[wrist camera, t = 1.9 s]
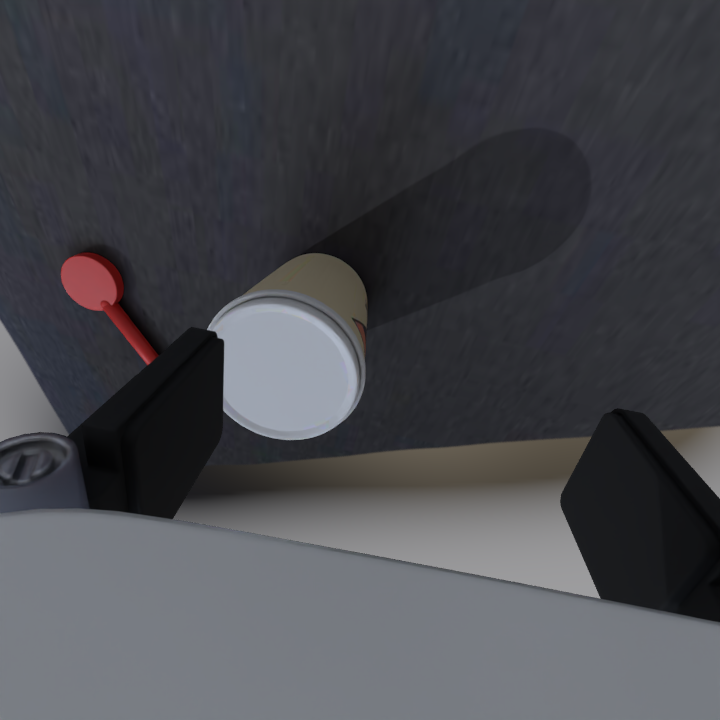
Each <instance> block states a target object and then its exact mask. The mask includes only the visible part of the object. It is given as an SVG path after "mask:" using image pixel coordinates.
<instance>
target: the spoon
mask: <svg viewBox="0 0 720 720" xmlns="http://www.w3.org/2000/svg"><path fill="white" fill-rule="evenodd" d="M61 279H62V283H63V286H64V288H65V290H66V291H67V293H68V294H69V295H70V296H71V298H72V299H73V300H75V301H76V302H77V303H78V304H80V305H81V306H83V307H85V308H88V309H91V310H99V311H100V310H104V311H105V312H106V313H107V315H108V316H109V317H110V318H111V320H112V321H113V322H114V324H115V325H116V326H117V327H118V329H119V330H120V331H121V332H122V334H123V335H124V336H125V337H126V339H127V340H128V341H129V342H130V344H131V345H132V346H133V347H134V349H135V350H136V351H137V352H138V354H139V355H140V356H141V357H142V359H143V360H144V361H145V362H146V364H147V365H149V364H150V363H151V362H152V361H153V360H154V359H155V358H157V357H158V356H159V355H158V354H157V353H156V351H155V350H154V349H153V348H152V346H151V345H150V344H149V342H148V341H147V340H146V339H145V337H144V336H143V335H142V333H141V332H140V331H139V330H138V328H137V327H136V326H135V324H134V323H133V322H132V321H131V319H130V318H129V317H128V315H127V314H126V313H125V311H124V310H123V309H122V308H121V306H120V305H119V304H118V302H119V301H120V299H121V298H122V296H123V292H124V285H123V280H122V277H121V275H120V273H119V272H118V270H117V269H116V267H115V266H114V265H113V264H112V263H111V262H110V261H108V260H107V259H106V258H104V257H102V256H100V255H98V254H94V253H88V252H85V253H80V254H77V255H75V256H72V257H70V258H68V259H67V260H66V261H65V262H64V264H63V266H62V269H61Z"/></svg>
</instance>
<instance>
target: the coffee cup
mask: <svg viewBox="0 0 720 720" xmlns="http://www.w3.org/2000/svg"><path fill="white" fill-rule="evenodd" d="M207 330H210V331H215V332H216V333H217V336H218V338H220V339H223V340H224V386H223V410H224V411H225V412H226V413H227V415H228V416H230V417H231V418H232V419H233V420H235V421H236V422H238V423H239V424H240V425H242V426H244V427H246V428H247V429H249V430H251V431H253V432H255V433H258V434H261V435H264V436H267V437H271V438H277V439H284V440H301V439H307V438H312V437H315V436H318V435H321V434H323V433H325V432H327V431H329V430H331V429H332V428H334V427H336V426H337V425H338V424H340V423H341V422H342V421H343V420H345V419H346V418H347V417H348V416H349V415H350V414H351V412H352V411H353V410H354V408H355V407H356V405H357V403H358V402H359V400H360V397H361V395H362V392H363V389H364V385H365V348H366V331H367V295H366V291H365V287H364V285H363V283H362V281H361V279H360V277H359V276H358V274H357V273H356V272H355V271H354V270H353V269H352V268H351V267H350V266H349V265H348V264H346V263H345V262H343V261H342V260H340V259H338V258H336V257H333V256H330V255H326V254H321V253H310V254H304V255H301V256H298V257H296V258H294V259H292V260H290V261H288V262H287V263H285V264H284V265H282V266H281V267H280V268H278V269H277V270H276V271H274V272H273V273H272V274H270V275H269V276H268V277H266V278H265V279H263V280H262V281H261V282H259V283H258V284H257V285H255V286H254V287H253V288H251V289H250V290H249V291H248V292H246V293H245V294H244V295H243V296H241V297H239V298H237V299H235V300H233V301H232V302H230V303H229V304H228V305H226V306H225V307H224V308H223V309H222V310H220V311H219V313H218V314H217V315H216V316H215V317H214V319H213V320H212V322H211V323H210V325H209V327H208V329H207Z"/></svg>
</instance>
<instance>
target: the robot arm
mask: <svg viewBox="0 0 720 720" xmlns="http://www.w3.org/2000/svg"><path fill="white" fill-rule="evenodd" d="M223 386H224V340H223V339H220V338H218V336H217V333H216V332H215V331H210V330H204V329H199V328H194V327H191V328H189V329H188V330H187V331H186V332H185V333H183V334H182V335H181V336H180V337H179V338H178V339H177V340H176V341H174V342H173V343H172V344H171V345H170V346H169V347H168V348H167V349H166V350H164V351H163V352H162V353H161V354H160V355H159V356H158V357H157V358H155V359H154V360H153V361H152V362H151V363H150V364H149V365H148V366H146V367H145V368H144V369H143V370H142V371H141V372H140V373H139V374H138V375H136V376H135V377H134V378H133V379H131V380H130V381H129V382H128V383H127V384H126V385H125V386H124V387H122V388H121V389H120V390H119V391H118V392H117V393H116V394H115V395H113V396H112V397H111V398H110V399H109V400H108V401H107V402H106V403H104V404H103V405H102V406H101V407H100V408H99V409H98V410H97V411H96V412H94V413H93V414H92V415H91V416H90V417H89V418H88V419H87V420H85V421H84V422H83V423H82V424H81V425H80V426H79V427H78V428H76V429H75V430H74V431H73V432H72V433H71V434H70V435H69V436H67V437H66V436H64V435H60V434H56V433H42V432H39V433H31V434H23V435H20V436H16V437H13V438H9V439H6V440H4V441H2V442H0V720H720V499H719V497H717V495H716V494H715V493H714V492H713V491H712V490H711V488H710V487H709V486H708V485H707V484H706V483H705V482H704V481H703V480H702V478H701V477H700V476H699V475H698V474H697V473H696V471H695V470H694V469H693V468H692V467H691V466H690V465H689V464H688V462H687V461H686V460H685V459H684V458H683V457H682V456H681V455H680V453H679V452H678V451H677V450H676V449H675V448H674V447H673V445H672V444H671V443H670V442H669V441H668V440H667V439H666V438H665V436H664V435H663V434H662V433H661V432H660V431H659V430H658V429H657V427H656V426H655V425H654V424H653V423H652V422H651V421H650V419H649V418H648V417H647V416H646V415H645V414H643V413H639V412H634V411H629V410H623V409H614V410H613V411H612V412H611V413H606V414H605V415H604V416H603V417H602V419H601V421H600V422H599V424H598V426H597V428H596V430H595V432H594V434H593V436H592V437H591V439H590V441H589V443H588V445H587V447H586V449H585V451H584V452H583V454H582V456H581V458H580V460H579V462H578V464H577V465H576V468H575V469H574V471H573V473H572V475H571V477H570V479H569V481H568V483H567V484H566V486H565V488H564V490H563V492H562V494H561V500H560V503H561V508H562V510H563V513H564V515H565V517H566V520H567V522H568V524H569V527H570V529H571V531H572V534H573V536H574V538H575V540H576V543H577V545H578V547H579V550H580V552H581V554H582V557H583V559H584V561H585V563H586V566H587V568H588V570H589V572H590V575H591V577H592V580H593V582H594V584H595V587H596V589H597V591H598V593H599V596H600V598H601V599H598V598H593V597H588V596H583V595H578V594H573V593H568V592H562V591H558V590H553V589H548V588H542V587H537V586H532V585H527V584H522V583H516V582H511V581H506V580H500V579H495V578H490V577H485V576H480V575H475V574H469V573H463V572H459V571H453V570H448V569H443V568H438V567H432V566H427V565H422V564H416V563H411V562H406V561H401V560H395V559H390V558H385V557H379V556H374V555H369V554H363V553H357V552H352V551H347V550H341V549H336V548H330V547H324V546H320V545H314V544H309V543H303V542H298V541H292V540H287V539H281V538H276V537H270V536H265V535H259V534H254V533H249V532H243V531H238V530H232V529H227V528H221V527H216V526H210V525H205V524H199V523H193V522H188V521H181V520H174V519H173V518H174V516H175V514H176V513H177V511H178V509H179V508H180V506H181V504H182V503H183V501H184V499H185V498H186V496H187V494H188V492H189V491H190V489H191V488H192V486H193V484H194V483H195V481H196V479H197V478H198V476H199V474H200V473H201V471H202V469H203V468H204V466H205V464H206V463H207V461H208V459H209V458H210V456H211V454H212V453H213V451H214V449H215V448H216V446H217V444H218V443H219V441H220V438H221V434H222V428H223Z"/></svg>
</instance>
